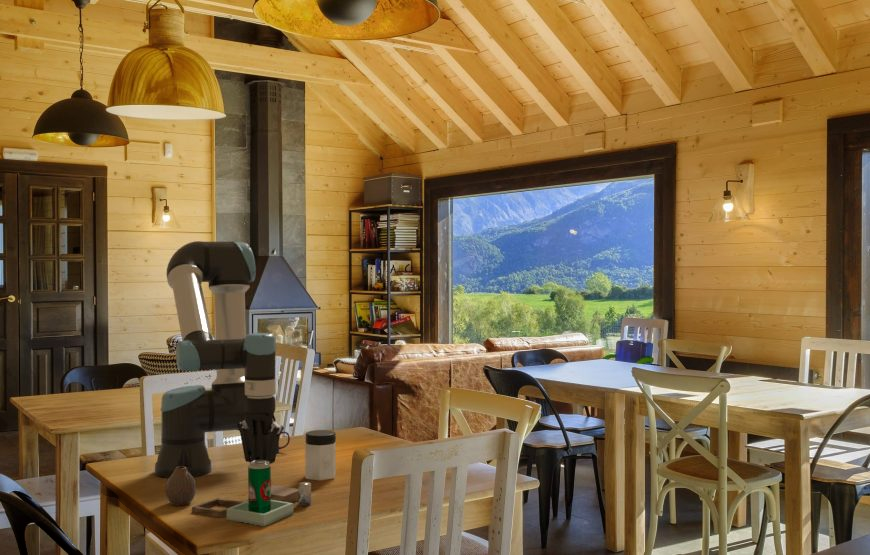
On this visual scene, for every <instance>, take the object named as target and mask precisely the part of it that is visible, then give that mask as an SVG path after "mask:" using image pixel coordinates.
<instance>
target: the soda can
mask: <svg viewBox="0 0 870 555" xmlns="http://www.w3.org/2000/svg"><path fill="white" fill-rule="evenodd" d="M271 468H272V466H271V464H269V461H267V460H255V461H251V462H249V465H248V467H247V479H248V480H247V483H248V484H247V486H248V487H247V489H248V490H247V492H248V494H247V501H248V511H250V512H256V513H262V514H264V513H267V512H269V511H271V485H272V476H271V475H272V469H271Z"/></svg>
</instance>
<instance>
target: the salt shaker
mask: <svg viewBox="0 0 870 555" xmlns="http://www.w3.org/2000/svg"><path fill="white" fill-rule="evenodd" d="M297 489H298V501H297V502H298V506H299V507H309V506H311V505H312V482H307V481H303V482H299V483H298V486H297Z"/></svg>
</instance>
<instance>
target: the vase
mask: <svg viewBox="0 0 870 555" xmlns="http://www.w3.org/2000/svg"><path fill="white" fill-rule="evenodd" d="M196 487H197V486H196V481H195V478H194V476H193V477H192V475H191V474H190V473H189V472H188V470H187V468H186V467H185V466H179V467H176V468H175V471H174V472H173V474H172V475H171V476H170V478H168V480H167V482H166V485H165V493H166V498H167V500H168V502H169V503H170V504H171V505H172V506H178V507H179V506H180V507H181V506H186V505H189V504H190V503H191V502H192V501H193V499H194V498H195V496H196V489H197V488H196Z"/></svg>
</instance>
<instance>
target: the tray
mask: <svg viewBox="0 0 870 555" xmlns="http://www.w3.org/2000/svg"><path fill="white" fill-rule="evenodd" d="M242 502H243V503H241V504H238V505H235V506H233V507H231V506H229V507H230V508H229V507H227V508H228V509H227V508H226V509H227V515H226V521H231V522H238V523H241V522H244V523H243V524H247V523H249V525H253V524H254V525H253V526H258V525H259V526H261V527H266V526H268V525H271V524H273V523H276V522H278V521H280V520H282V519H285V518H287V517H290V516H293V514H294V502H293V503H288V502H282V501H276V500H271V511H269V512H267V513H264V514H262V513H256V512H250V511H248V500H246V501H242Z"/></svg>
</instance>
